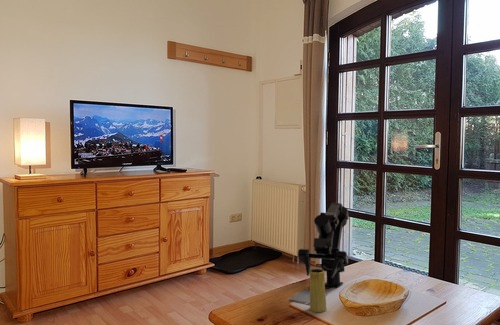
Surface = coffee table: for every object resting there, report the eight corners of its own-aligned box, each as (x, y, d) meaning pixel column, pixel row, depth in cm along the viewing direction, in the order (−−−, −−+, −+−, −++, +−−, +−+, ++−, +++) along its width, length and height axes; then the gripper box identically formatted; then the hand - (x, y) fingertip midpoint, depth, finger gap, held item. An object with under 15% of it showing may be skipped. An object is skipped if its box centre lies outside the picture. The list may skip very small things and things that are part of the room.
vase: (326, 313, 142) (325, 273, 141) (309, 312, 143) (307, 272, 143) (326, 306, 148) (325, 268, 147) (310, 305, 149) (308, 268, 149)
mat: (304, 290, 166) (304, 289, 166) (326, 294, 160) (326, 293, 160) (289, 300, 155) (289, 299, 155) (312, 305, 149) (312, 303, 149)
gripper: (298, 228, 157) (290, 263, 147) (345, 230, 150) (341, 267, 140) (304, 244, 164) (297, 278, 154) (349, 246, 157) (346, 282, 147)
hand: (319, 276), depth 149 cm, fingers open, 9 cm apart
